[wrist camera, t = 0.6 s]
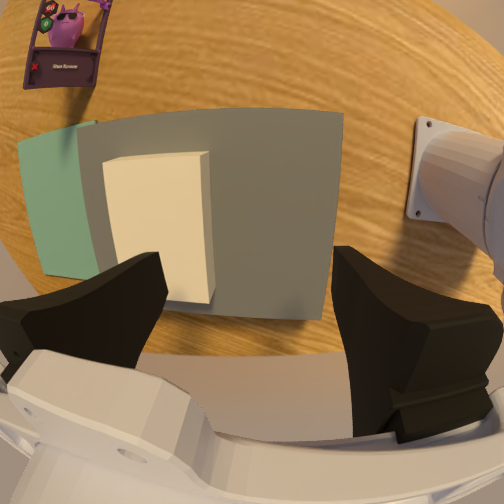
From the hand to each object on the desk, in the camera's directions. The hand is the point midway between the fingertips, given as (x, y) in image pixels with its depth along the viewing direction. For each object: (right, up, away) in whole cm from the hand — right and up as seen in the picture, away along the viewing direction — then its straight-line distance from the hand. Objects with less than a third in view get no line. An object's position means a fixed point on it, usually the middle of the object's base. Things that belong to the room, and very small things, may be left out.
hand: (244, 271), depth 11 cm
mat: (-18, +5, +11) cm, 21 cm away
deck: (-3, +4, +10) cm, 11 cm away
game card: (-14, +19, +4) cm, 24 cm away
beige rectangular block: (-5, +3, +6) cm, 8 cm away
